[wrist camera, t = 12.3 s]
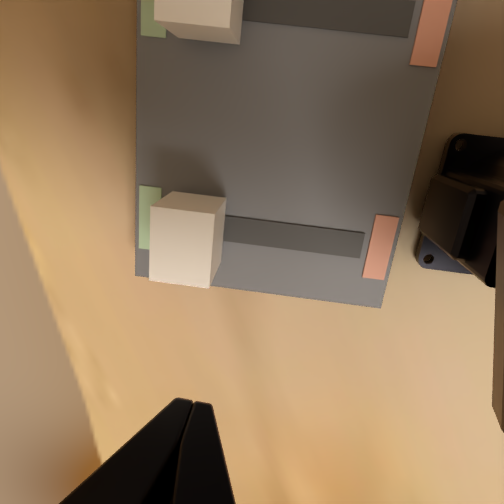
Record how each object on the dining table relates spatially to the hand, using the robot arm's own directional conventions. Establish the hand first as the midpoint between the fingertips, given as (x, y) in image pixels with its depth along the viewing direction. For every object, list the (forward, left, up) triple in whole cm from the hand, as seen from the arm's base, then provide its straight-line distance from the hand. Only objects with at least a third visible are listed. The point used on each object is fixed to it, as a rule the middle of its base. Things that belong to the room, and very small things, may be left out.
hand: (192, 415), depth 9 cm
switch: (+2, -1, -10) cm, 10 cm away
